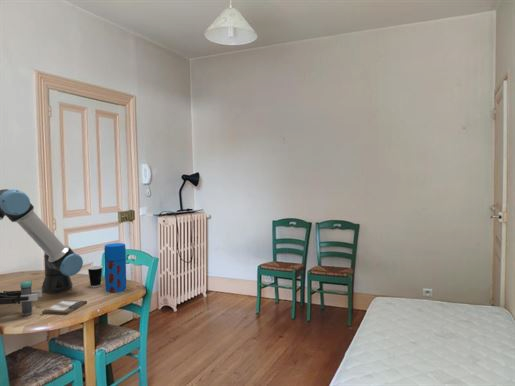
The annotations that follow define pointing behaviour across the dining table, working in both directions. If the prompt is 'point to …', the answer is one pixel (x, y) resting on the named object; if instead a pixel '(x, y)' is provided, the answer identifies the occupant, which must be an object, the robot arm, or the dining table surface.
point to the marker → (26, 291)
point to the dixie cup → (95, 275)
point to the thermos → (115, 267)
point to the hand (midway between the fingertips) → (39, 295)
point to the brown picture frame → (64, 307)
